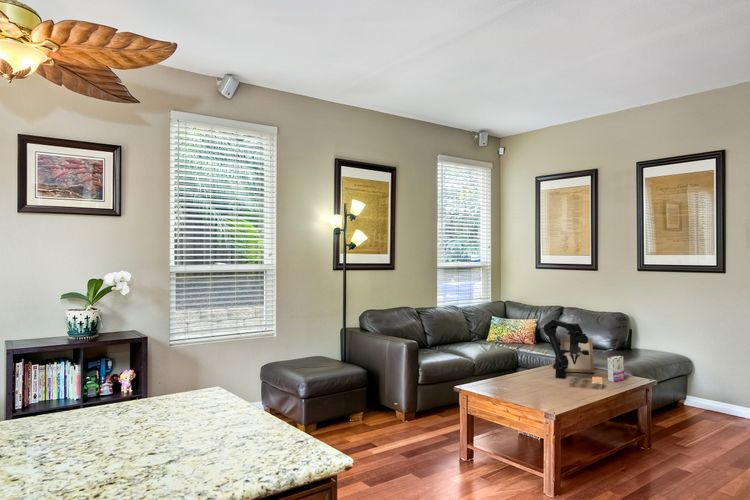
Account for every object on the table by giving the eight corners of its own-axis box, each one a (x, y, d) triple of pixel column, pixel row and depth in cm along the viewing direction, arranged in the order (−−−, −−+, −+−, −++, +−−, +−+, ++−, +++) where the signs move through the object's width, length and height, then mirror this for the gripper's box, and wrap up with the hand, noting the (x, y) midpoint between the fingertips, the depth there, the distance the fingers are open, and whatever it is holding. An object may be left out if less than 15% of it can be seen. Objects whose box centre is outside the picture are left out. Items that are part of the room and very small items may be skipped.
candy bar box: (618, 378, 353) (617, 355, 353) (624, 380, 349) (624, 356, 349) (607, 380, 348) (606, 357, 348) (613, 382, 344) (613, 358, 344)
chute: (569, 386, 334) (568, 380, 334) (569, 383, 343) (569, 376, 343) (602, 389, 326) (601, 382, 326) (601, 385, 335) (601, 379, 335)
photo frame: (594, 373, 368) (593, 339, 369) (563, 372, 373) (562, 339, 374) (590, 369, 383) (589, 336, 384) (560, 368, 388) (559, 336, 389)
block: (592, 386, 330) (592, 378, 330) (592, 384, 335) (592, 376, 335) (602, 387, 327) (602, 379, 327) (602, 384, 333) (602, 377, 333)
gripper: (558, 342, 343) (559, 365, 343) (588, 344, 335) (589, 367, 335) (560, 340, 353) (560, 362, 353) (588, 341, 346) (589, 364, 345)
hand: (574, 364), depth 346 cm, fingers closed
